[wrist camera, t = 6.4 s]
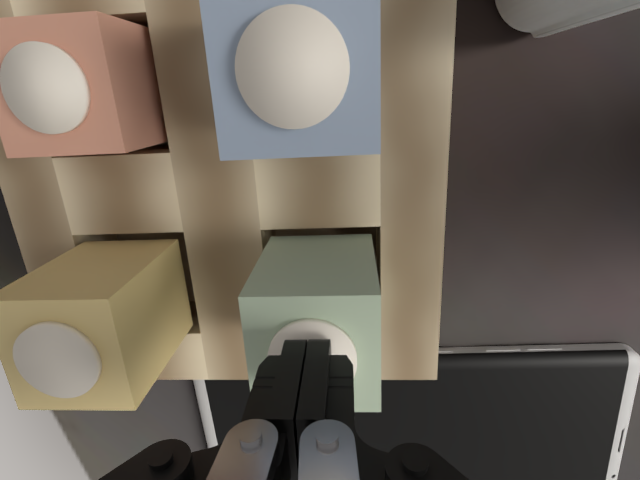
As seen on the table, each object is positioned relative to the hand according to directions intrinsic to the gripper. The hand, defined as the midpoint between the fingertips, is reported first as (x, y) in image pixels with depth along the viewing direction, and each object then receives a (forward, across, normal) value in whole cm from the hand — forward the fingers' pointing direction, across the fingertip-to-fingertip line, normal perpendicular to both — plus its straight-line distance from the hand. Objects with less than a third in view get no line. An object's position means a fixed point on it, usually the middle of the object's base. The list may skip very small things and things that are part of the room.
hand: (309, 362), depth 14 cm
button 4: (+6, 0, 0) cm, 6 cm away
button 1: (+9, +9, -9) cm, 16 cm away
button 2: (+7, +9, 0) cm, 11 cm away
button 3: (+6, 0, -9) cm, 11 cm away
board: (+11, +4, -4) cm, 12 cm away
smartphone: (+12, -5, +13) cm, 18 cm away
